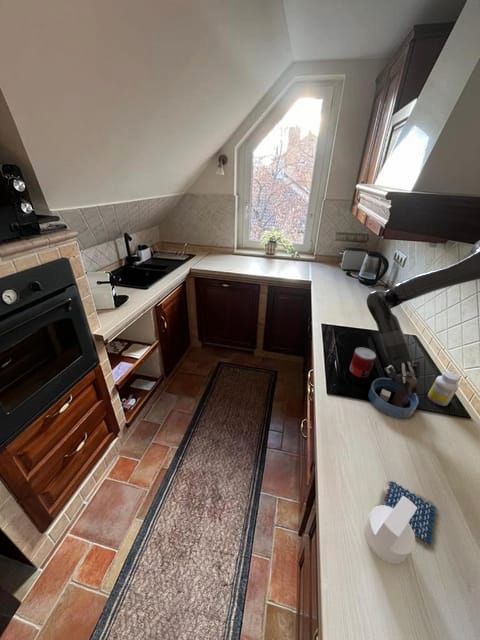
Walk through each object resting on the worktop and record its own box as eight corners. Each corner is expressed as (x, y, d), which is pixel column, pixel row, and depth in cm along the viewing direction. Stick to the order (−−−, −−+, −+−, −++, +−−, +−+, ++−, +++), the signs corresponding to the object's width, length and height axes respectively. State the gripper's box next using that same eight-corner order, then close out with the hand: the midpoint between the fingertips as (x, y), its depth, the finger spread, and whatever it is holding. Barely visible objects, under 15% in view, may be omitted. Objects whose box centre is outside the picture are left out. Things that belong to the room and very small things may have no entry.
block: (388, 398, 96) (391, 392, 95) (387, 402, 94) (389, 397, 93) (380, 394, 98) (382, 388, 96) (378, 399, 96) (380, 393, 94)
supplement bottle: (438, 394, 99) (453, 368, 93) (451, 407, 94) (468, 381, 87) (422, 394, 99) (435, 369, 92) (434, 408, 93) (449, 382, 87)
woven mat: (388, 481, 70) (390, 477, 69) (433, 509, 64) (436, 505, 63) (378, 514, 63) (380, 511, 62) (428, 550, 57) (431, 546, 56)
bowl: (411, 396, 98) (416, 386, 95) (414, 426, 86) (420, 415, 83) (368, 383, 104) (372, 373, 101) (366, 409, 92) (370, 398, 89)
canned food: (363, 382, 104) (371, 361, 98) (345, 372, 109) (351, 351, 104) (371, 374, 108) (379, 353, 103) (353, 364, 114) (360, 344, 108)
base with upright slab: (374, 508, 64) (389, 483, 58) (412, 545, 58) (433, 520, 52) (354, 534, 60) (369, 509, 54) (393, 577, 53) (414, 554, 47)
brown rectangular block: (397, 399, 93) (410, 376, 87) (403, 406, 91) (418, 382, 85) (390, 401, 92) (403, 377, 86) (397, 408, 90) (411, 384, 84)
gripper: (387, 345, 84) (404, 398, 80) (419, 339, 88) (437, 389, 84) (370, 349, 91) (386, 398, 87) (401, 343, 95) (417, 390, 91)
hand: (411, 393), depth 86 cm, fingers closed on brown rectangular block, 3 cm apart
